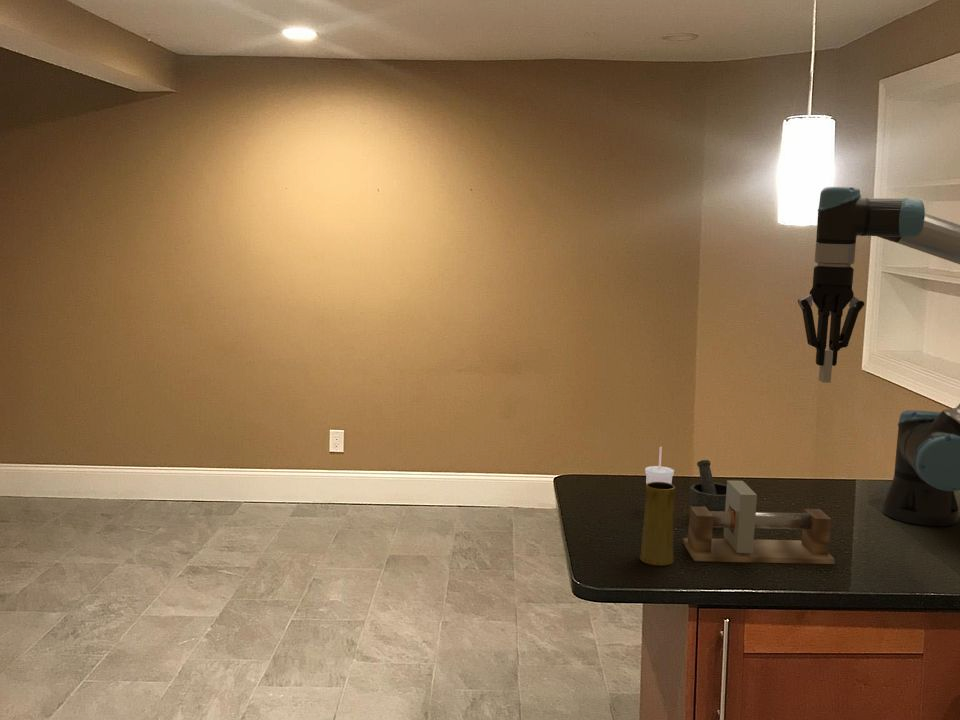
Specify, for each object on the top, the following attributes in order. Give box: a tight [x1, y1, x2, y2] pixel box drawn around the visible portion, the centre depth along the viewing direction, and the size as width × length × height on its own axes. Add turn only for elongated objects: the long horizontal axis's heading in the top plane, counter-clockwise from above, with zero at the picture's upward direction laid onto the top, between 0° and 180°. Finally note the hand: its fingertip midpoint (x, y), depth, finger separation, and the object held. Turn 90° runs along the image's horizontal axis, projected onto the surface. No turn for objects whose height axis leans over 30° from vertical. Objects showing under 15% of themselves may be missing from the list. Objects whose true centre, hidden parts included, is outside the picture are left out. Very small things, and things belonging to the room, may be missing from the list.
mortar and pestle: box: [689, 459, 727, 511], centre depth 205 cm, size 11×9×12 cm
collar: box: [723, 479, 758, 553], centre depth 185 cm, size 3×10×11 cm, turn 1°
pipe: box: [709, 510, 812, 530], centre depth 185 cm, size 23×4×4 cm, turn 91°
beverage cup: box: [644, 446, 675, 486], centre depth 211 cm, size 6×6×14 cm
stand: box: [682, 505, 836, 565], centre depth 186 cm, size 26×10×8 cm, turn 91°
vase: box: [639, 482, 676, 567], centre depth 180 cm, size 6×6×14 cm
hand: (824, 381), depth 200 cm, fingers closed
